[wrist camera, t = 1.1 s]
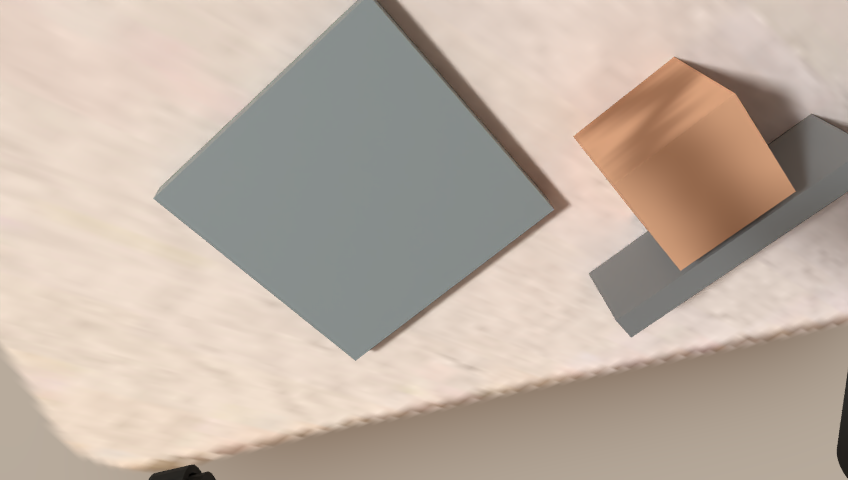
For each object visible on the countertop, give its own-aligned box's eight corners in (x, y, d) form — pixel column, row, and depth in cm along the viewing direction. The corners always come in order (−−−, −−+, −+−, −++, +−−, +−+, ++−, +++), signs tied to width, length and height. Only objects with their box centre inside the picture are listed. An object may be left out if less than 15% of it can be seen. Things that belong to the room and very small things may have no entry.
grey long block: (811, 114, 34) (870, 146, 30) (839, 163, 36) (898, 199, 32) (588, 273, 38) (616, 320, 34) (623, 312, 40) (652, 361, 36)
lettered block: (673, 56, 32) (735, 93, 27) (731, 145, 35) (798, 195, 30) (572, 135, 34) (613, 185, 29) (635, 215, 37) (683, 274, 31)
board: (368, -10, 29) (368, -5, 28) (548, 199, 35) (554, 209, 34) (159, 187, 33) (153, 198, 32) (355, 347, 39) (355, 360, 38)
